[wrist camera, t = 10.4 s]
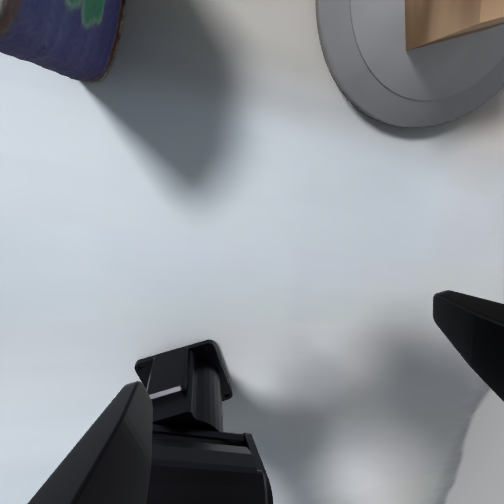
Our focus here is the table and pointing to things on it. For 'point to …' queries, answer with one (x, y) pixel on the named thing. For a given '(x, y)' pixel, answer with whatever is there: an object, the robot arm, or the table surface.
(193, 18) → the table surface
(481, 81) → the slate plate
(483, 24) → the walnut cube
